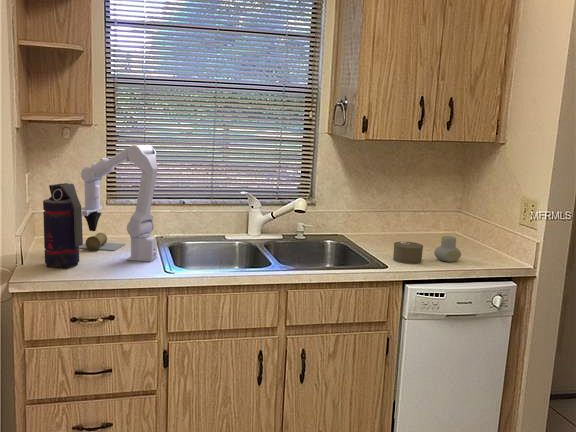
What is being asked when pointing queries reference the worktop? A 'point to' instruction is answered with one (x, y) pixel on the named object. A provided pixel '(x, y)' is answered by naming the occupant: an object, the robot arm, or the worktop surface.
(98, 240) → the cork
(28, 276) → the worktop surface
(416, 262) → the can
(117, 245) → the mat
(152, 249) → the robot arm
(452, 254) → the air freshener
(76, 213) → the grenade
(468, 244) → the worktop surface
